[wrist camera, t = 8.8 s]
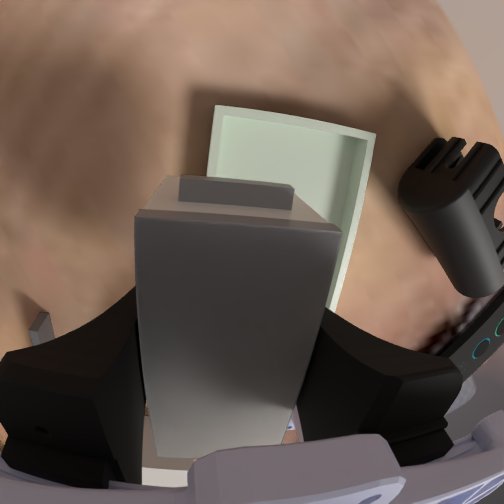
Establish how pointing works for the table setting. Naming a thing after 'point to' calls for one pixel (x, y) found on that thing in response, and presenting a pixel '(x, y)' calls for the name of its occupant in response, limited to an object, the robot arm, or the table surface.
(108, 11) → the table surface
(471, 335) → the smart home device
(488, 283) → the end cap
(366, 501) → the robot arm
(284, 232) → the grey rectangular block
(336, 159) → the tray
